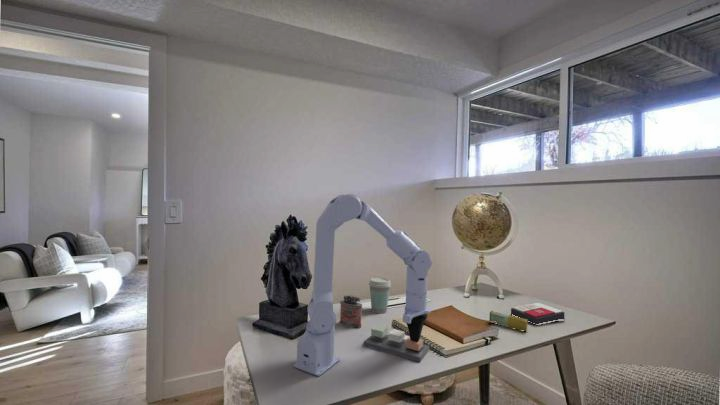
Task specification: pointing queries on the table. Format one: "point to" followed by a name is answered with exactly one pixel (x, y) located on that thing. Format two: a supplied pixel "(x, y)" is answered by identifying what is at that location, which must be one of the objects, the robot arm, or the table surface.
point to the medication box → (509, 320)
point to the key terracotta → (414, 344)
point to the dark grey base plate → (396, 347)
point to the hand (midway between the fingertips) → (414, 340)
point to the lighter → (350, 312)
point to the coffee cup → (379, 294)
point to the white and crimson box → (537, 313)
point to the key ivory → (396, 335)
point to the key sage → (379, 331)
